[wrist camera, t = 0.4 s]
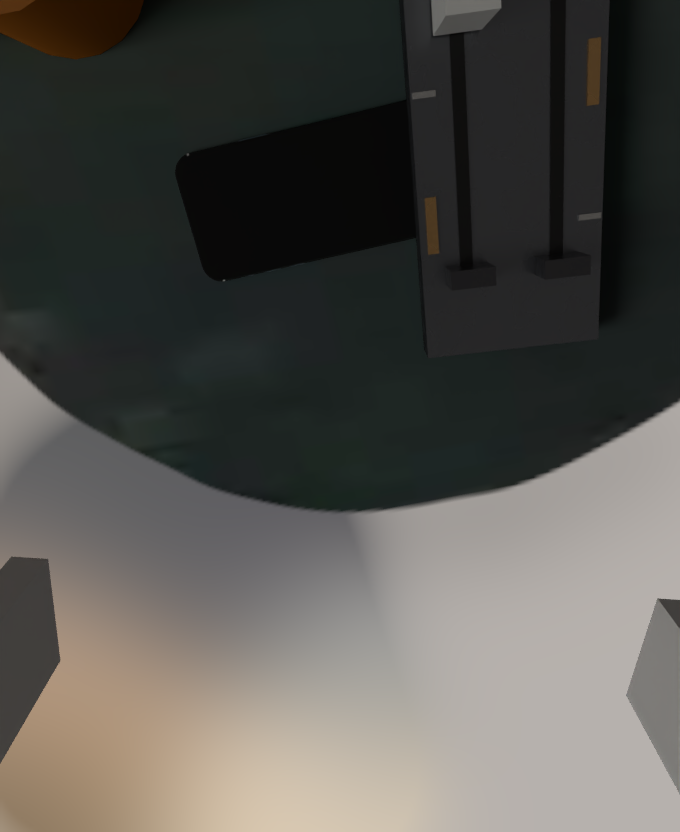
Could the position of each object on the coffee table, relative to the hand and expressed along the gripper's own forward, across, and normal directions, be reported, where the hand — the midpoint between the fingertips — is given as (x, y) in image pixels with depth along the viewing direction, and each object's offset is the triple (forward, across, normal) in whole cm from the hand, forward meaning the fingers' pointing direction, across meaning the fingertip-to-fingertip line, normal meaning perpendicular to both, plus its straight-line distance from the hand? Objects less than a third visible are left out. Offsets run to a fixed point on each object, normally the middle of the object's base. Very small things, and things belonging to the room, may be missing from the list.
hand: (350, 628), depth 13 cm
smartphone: (+27, -2, +8) cm, 28 cm away
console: (+27, +7, +14) cm, 31 cm away
